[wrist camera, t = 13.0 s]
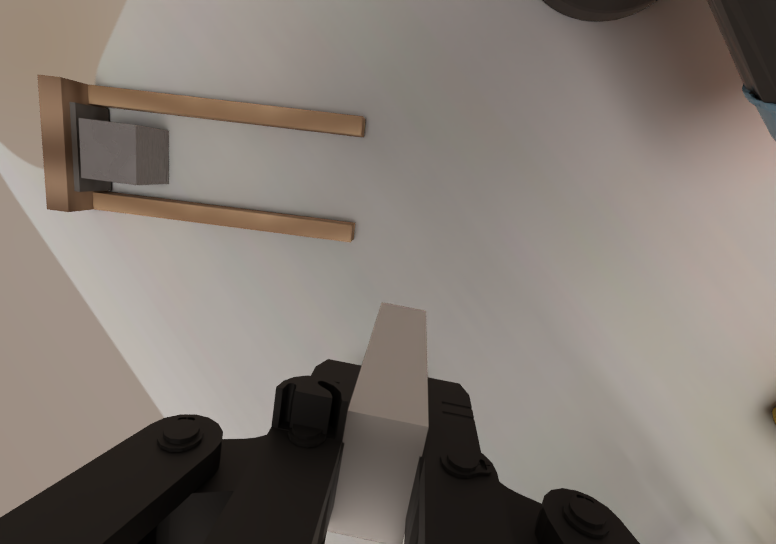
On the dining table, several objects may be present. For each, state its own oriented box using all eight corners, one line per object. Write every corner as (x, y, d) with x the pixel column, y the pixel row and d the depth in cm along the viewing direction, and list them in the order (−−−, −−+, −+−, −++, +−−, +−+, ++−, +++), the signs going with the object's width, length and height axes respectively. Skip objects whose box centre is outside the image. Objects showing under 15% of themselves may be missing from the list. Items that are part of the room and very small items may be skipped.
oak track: (83, 86, 40) (37, 74, 35) (365, 119, 39) (357, 111, 34) (89, 205, 43) (47, 209, 38) (353, 239, 42) (344, 247, 37)
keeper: (119, 124, 41) (78, 117, 36) (169, 130, 41) (135, 124, 36) (120, 177, 42) (81, 177, 37) (169, 183, 42) (136, 184, 37)
